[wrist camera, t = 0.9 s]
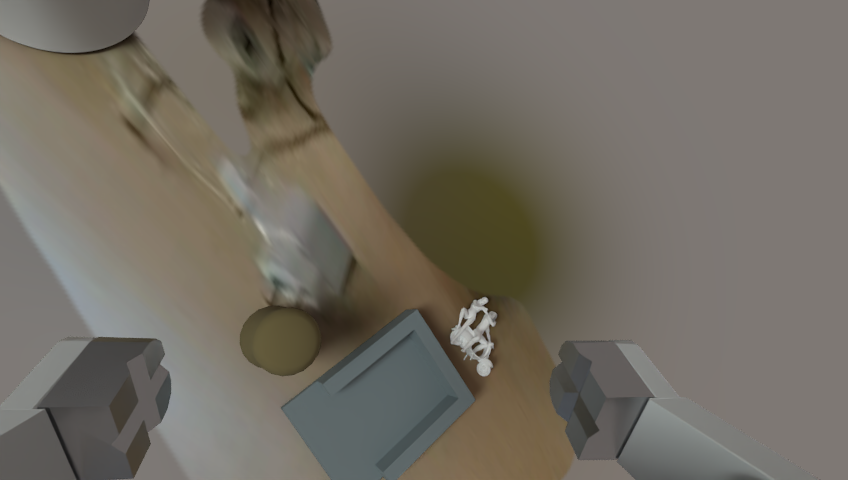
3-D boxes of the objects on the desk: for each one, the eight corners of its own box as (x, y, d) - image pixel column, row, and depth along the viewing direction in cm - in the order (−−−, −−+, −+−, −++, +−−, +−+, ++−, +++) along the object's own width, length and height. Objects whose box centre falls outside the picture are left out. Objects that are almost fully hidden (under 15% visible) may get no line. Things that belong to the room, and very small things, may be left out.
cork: (315, 320, 44) (343, 321, 34) (287, 378, 42) (309, 396, 32) (259, 295, 42) (272, 288, 32) (227, 354, 40) (230, 366, 30)
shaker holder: (280, 407, 41) (285, 413, 38) (406, 309, 48) (417, 309, 46) (349, 505, 42) (358, 517, 40) (461, 395, 50) (475, 400, 47)
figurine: (472, 288, 53) (511, 335, 54) (432, 331, 50) (475, 382, 51) (485, 284, 51) (527, 334, 51) (444, 331, 47) (489, 383, 48)
